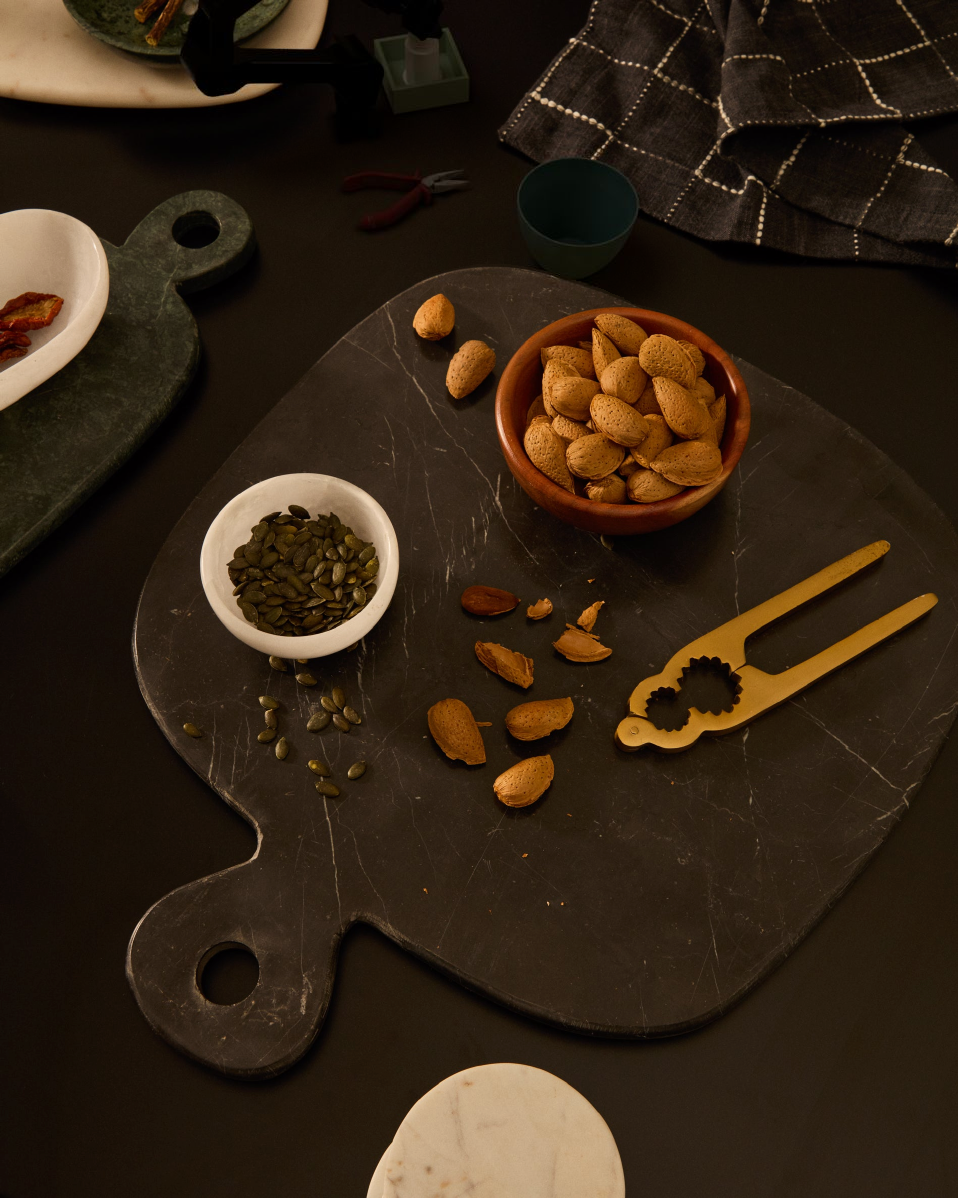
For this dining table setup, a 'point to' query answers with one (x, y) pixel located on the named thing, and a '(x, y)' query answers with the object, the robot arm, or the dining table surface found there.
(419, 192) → the pliers
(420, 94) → the bin
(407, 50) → the downlight
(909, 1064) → the dining table surface
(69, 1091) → the dining table surface
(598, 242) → the dark teal bowl
